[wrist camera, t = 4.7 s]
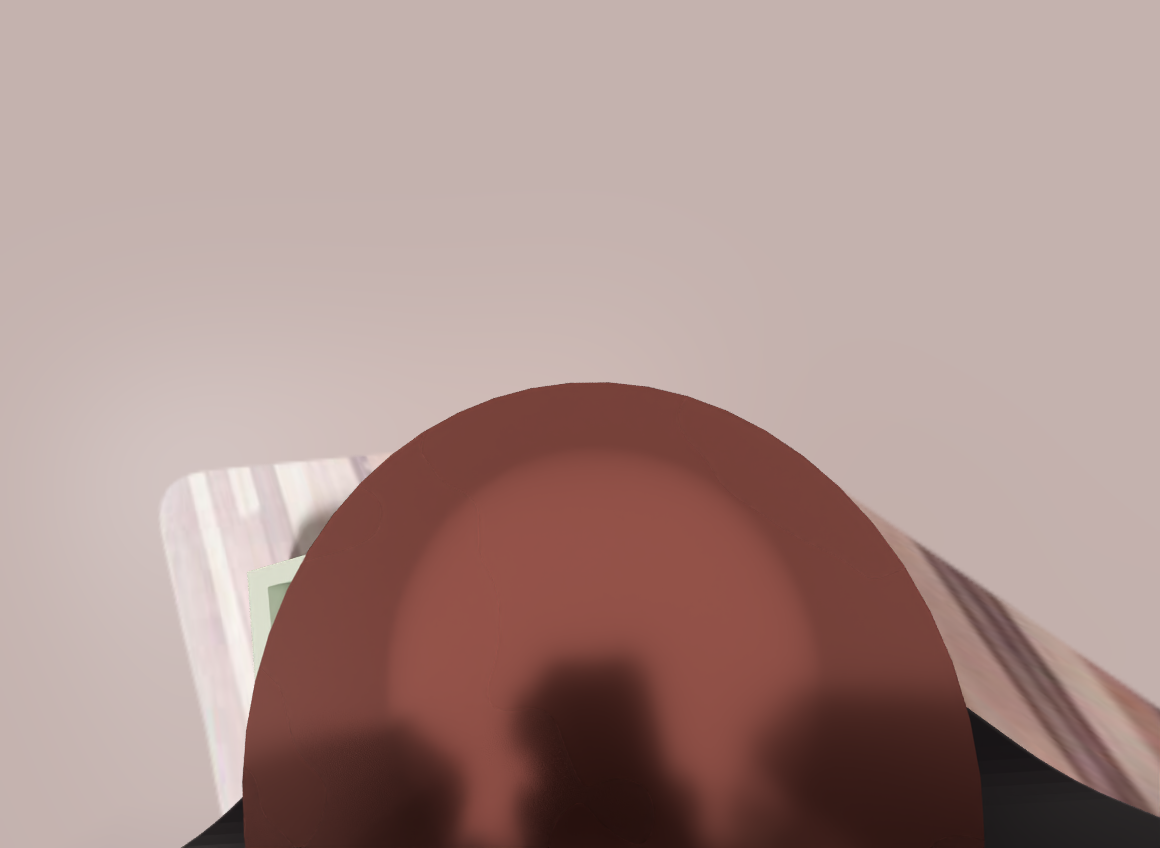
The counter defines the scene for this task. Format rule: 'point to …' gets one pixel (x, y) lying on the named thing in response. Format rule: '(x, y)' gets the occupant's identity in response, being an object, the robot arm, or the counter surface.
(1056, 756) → the counter surface
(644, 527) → the pin
